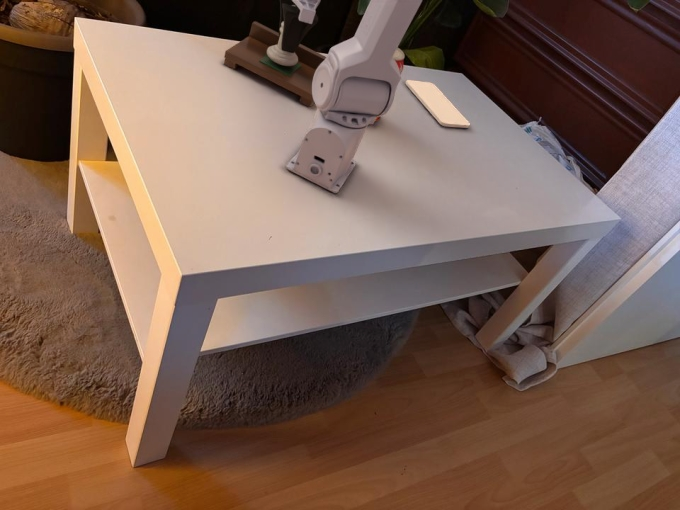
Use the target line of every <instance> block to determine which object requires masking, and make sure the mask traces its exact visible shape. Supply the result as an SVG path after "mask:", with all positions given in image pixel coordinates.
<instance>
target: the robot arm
mask: <svg viewBox="0 0 680 510" xmlns="http://www.w3.org/2000/svg"><path fill="white" fill-rule="evenodd" d="M422 2H423V0H370V1H369V3H368V5H367V8H366V10H365V12H364V14H363V16H362V18H361V20H360V23H359V25H358V27H357V29H356V31H355V34H354V36H353V37H351V38H349V39H347V40H343V41H342V42H339V43H337V44H335V45H333V46H332V47H331V48H329V51H328V53H327V55H326V56H325V57H326V59H325V60H324V61H323V62H322V63H321V64H320V65H319V67H318V68H317V69H316V71H315V74H314V77H313V82H312V96H313V100H314V105H315V106H316V111H315V114H314V117H313V120H312V121H311V125H310V128H309V129H308V131H306V133H305V135H304V137H303V140H302V143H301V145H300V148H299V150H298V151H297V152H296V153H295V155H294V156H293V157H292V158H291V159H290V160H289V162H288V163H287V164H286V167H285V168H286V169H287V170H288V171H289V172H292V173H293V174H296V175H298V176H300V177H301V178H304V179H305V180H308V181H310V182H311V183H314V184H316V185H317V186H319V187H322V188H324V189H326V190H328V191H329V192H332V193H333V194H338V193H339V191H341V188H342V186H343V185H344V183H346V180H347V179H348V177H349V175H351V173H352V171H353V169H354V168H355V167H356V165H357V161H356V160H354V158H355V155H356V153H357V151H358V149H359V146H360V144H361V142H362V139H363V137H364V135H365V132H366V130H367V128H368V126H369V125H374V124H375V122H376V121H375V119H376V117H383V116H385V115H386V114H388V112H389V110H390V109H391V107H392V105H393V103H394V100H395V96H396V90H397V87H398V86H399V83H400V82H401V80H402V74H401V75H400V70H399V67H398V65H397V63H396V61H395V60H394V58H393V55H394V53H395V51H396V49H397V47H398V48H399V45H400V44H401V42H402V40H403V38H404V36H405V35H406V32H407V30H408V28H409V26H410V25H411V23H412V21H413V20H414V17H415V15H416V14H417V12H418V10H419V8H420V6H421V5H422ZM320 3H321V0H279V4H280V5H279V6H280V7H279V8H280V12H279V13H280V15H279V27H278V33H279V38H280V34H281V32H280V28H281V27H282V26H281V23H282V22H283V21H284V28H283V35H282V42H281V49H282V51H286V52H290V53H294V52H295V51H296V49H297V48H298V46H299V44H301V42H302V41H303V40H304V38H305V36H306V35H307V34H308V32H309V31H310V30H311V29H312V28H313V27H314V26H316V25H317V23H318V21H319V16H318V15H317V14H316V12H317V11H316V9H317V8H318V6H319V5H320ZM292 5H296V6H292Z"/></svg>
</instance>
